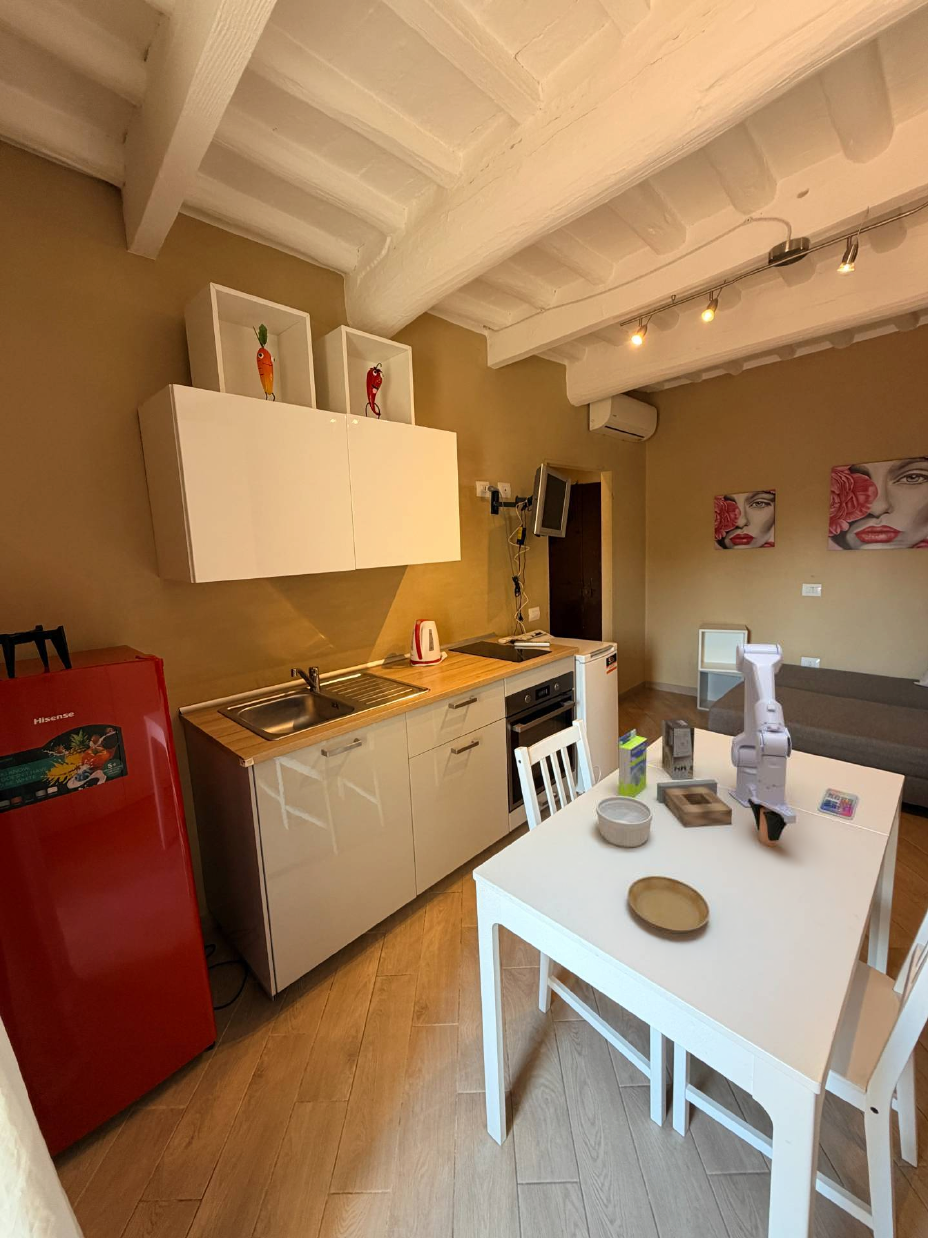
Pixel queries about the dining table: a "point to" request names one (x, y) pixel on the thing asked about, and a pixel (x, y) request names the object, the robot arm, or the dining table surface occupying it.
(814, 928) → the dining table surface
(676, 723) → the coffee box
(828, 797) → the smartphone
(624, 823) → the ramekin
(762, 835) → the dowel
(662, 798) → the wall
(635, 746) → the box
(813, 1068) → the dining table surface
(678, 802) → the socket block
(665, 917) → the plant saucer
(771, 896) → the dining table surface
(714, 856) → the dining table surface
